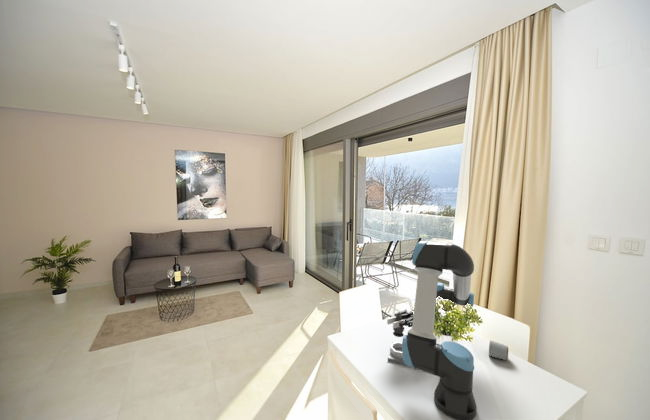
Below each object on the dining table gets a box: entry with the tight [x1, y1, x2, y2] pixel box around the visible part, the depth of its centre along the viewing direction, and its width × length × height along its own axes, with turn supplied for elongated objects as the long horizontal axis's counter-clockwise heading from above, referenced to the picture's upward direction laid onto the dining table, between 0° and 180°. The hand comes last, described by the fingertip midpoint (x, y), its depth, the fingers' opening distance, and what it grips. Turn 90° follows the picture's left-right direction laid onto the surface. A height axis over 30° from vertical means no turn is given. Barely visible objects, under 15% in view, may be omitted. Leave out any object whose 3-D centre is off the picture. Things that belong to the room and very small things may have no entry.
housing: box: [387, 341, 408, 367], centre depth 135 cm, size 15×20×4 cm
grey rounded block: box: [488, 340, 509, 361], centre depth 138 cm, size 11×8×8 cm
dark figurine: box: [392, 311, 405, 338], centre depth 136 cm, size 6×6×12 cm
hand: (390, 323), depth 134 cm, fingers closed on dark figurine, 3 cm apart
